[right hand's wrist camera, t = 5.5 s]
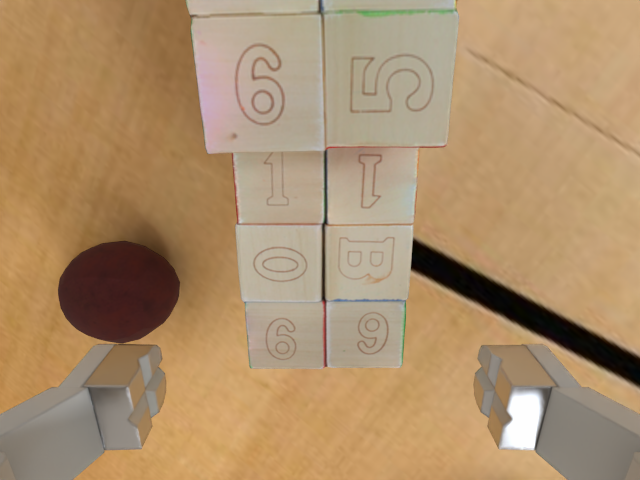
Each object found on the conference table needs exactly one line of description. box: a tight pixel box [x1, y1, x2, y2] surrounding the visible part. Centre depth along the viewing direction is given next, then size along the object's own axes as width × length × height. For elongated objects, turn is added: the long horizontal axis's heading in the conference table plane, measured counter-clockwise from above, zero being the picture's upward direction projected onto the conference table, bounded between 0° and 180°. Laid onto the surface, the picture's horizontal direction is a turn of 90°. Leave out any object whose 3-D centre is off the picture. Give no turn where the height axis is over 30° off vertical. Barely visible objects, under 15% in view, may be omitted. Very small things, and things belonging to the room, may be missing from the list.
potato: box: [58, 241, 180, 343], centre depth 29 cm, size 7×8×7 cm
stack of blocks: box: [185, 0, 459, 369], centre depth 15 cm, size 21×6×12 cm, turn 0°
